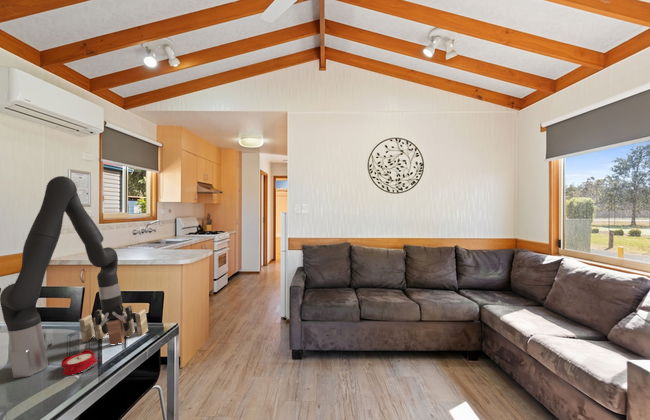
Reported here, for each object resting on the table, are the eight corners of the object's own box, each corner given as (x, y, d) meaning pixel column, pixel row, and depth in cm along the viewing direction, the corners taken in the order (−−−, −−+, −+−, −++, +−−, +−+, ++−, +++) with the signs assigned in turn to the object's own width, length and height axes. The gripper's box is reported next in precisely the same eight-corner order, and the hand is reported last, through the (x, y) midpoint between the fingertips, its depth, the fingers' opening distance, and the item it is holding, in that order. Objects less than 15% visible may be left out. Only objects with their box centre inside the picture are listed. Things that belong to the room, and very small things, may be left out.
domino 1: (94, 336, 150) (91, 315, 150) (87, 341, 145) (83, 319, 145) (90, 336, 150) (86, 315, 150) (82, 341, 145) (79, 320, 145)
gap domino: (122, 344, 139) (118, 321, 138) (110, 345, 139) (106, 322, 138) (124, 342, 141) (121, 319, 140) (112, 343, 141) (109, 320, 140)
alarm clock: (65, 371, 114) (56, 350, 124) (67, 386, 115) (58, 364, 125) (100, 357, 122) (89, 338, 131) (101, 372, 123) (91, 352, 133)
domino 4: (148, 330, 151) (145, 309, 151) (142, 335, 146) (139, 313, 146) (143, 331, 151) (140, 309, 150) (138, 336, 146) (135, 314, 145)
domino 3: (134, 331, 151) (131, 310, 150) (128, 337, 146) (125, 315, 145) (130, 332, 151) (127, 311, 150) (124, 337, 146) (121, 315, 145)
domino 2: (108, 334, 151) (105, 313, 150) (101, 339, 146) (97, 318, 145) (103, 335, 151) (100, 314, 150) (96, 340, 146) (93, 318, 145)
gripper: (87, 300, 135) (93, 338, 137) (123, 296, 136) (129, 333, 138) (98, 294, 142) (104, 330, 144) (132, 290, 143) (138, 325, 145)
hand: (116, 331), depth 141 cm, fingers open, 8 cm apart
